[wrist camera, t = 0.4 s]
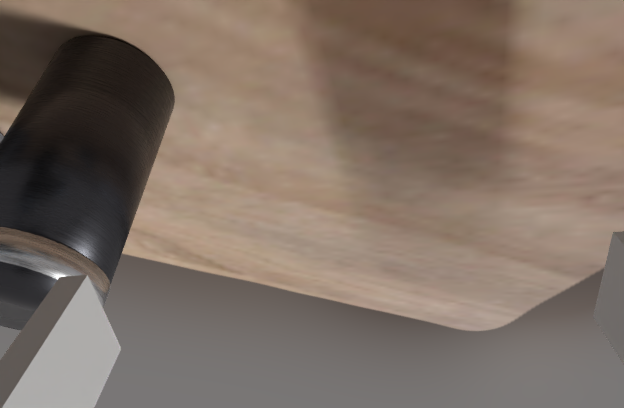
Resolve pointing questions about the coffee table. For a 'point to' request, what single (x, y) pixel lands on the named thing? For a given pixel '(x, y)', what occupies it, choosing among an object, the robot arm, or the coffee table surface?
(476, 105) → the coffee table surface
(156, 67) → the lens
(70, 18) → the coffee table surface
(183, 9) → the coffee table surface
